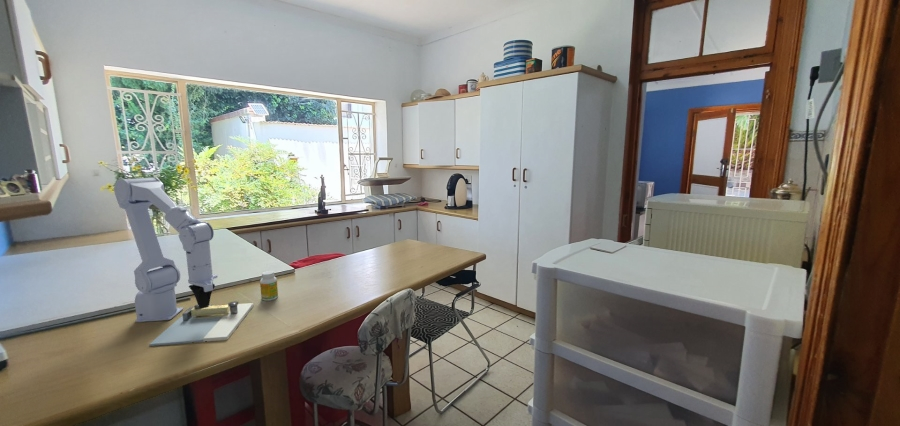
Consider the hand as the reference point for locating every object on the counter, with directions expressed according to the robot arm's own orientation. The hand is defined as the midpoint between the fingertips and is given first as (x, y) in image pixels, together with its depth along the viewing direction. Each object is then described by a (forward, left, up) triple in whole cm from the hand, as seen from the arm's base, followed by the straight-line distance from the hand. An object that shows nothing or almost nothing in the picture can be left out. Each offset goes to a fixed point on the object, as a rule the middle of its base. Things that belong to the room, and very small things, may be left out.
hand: (204, 307), depth 103 cm
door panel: (0, +2, -6) cm, 7 cm away
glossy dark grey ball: (+6, +6, -6) cm, 10 cm away
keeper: (-4, +7, -6) cm, 10 cm away
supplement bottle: (+13, +19, -7) cm, 24 cm away
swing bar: (-1, +6, -5) cm, 7 cm away
